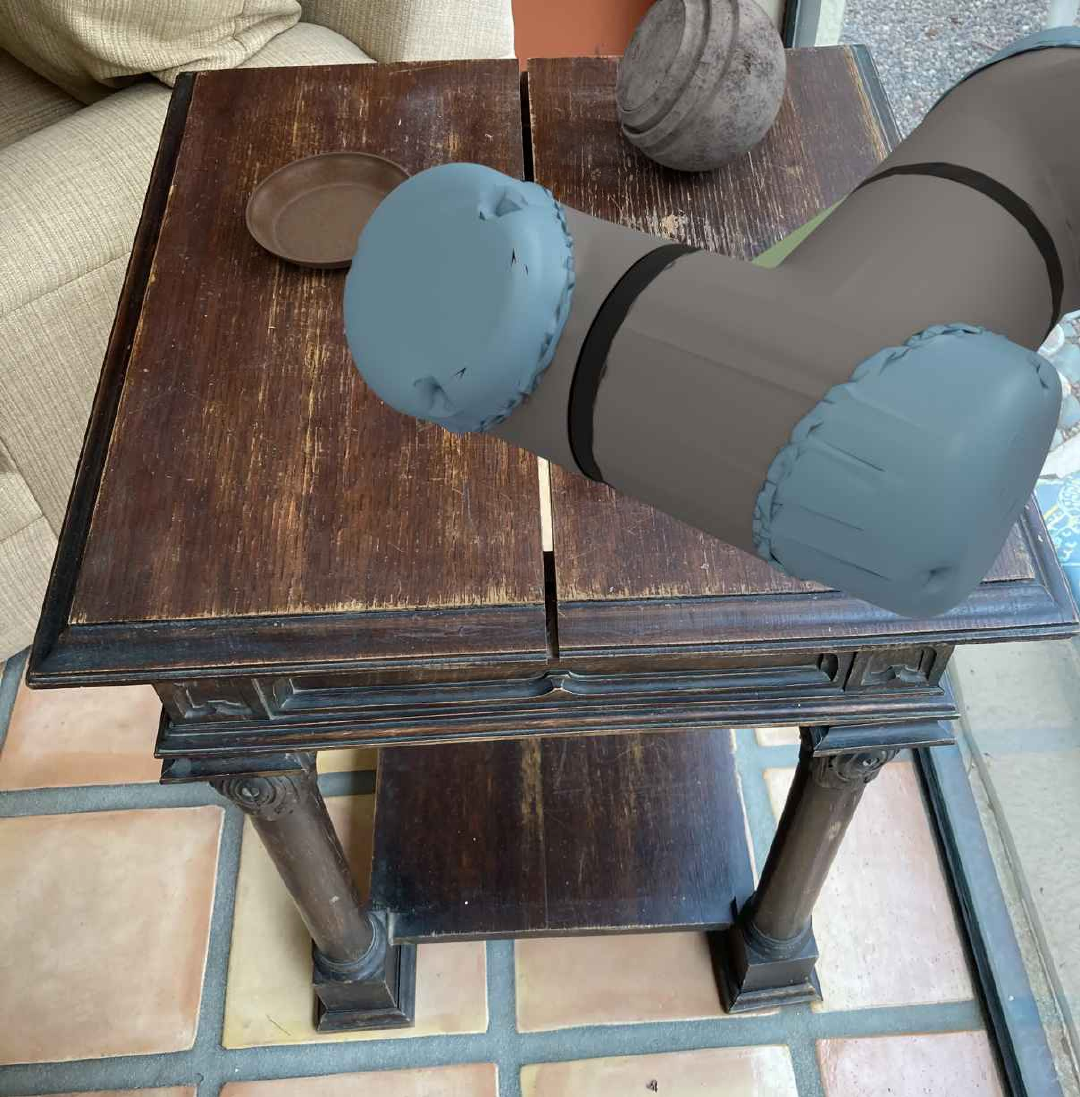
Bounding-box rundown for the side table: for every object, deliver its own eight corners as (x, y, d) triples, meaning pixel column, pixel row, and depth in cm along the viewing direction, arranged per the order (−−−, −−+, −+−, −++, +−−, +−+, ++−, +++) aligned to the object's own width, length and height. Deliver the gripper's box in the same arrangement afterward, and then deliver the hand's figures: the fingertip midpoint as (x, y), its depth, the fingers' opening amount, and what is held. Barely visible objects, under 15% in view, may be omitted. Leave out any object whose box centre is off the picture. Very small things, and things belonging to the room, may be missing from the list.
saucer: (295, 309, 85) (288, 283, 83) (226, 213, 93) (218, 187, 91) (453, 245, 90) (450, 219, 88) (376, 158, 97) (371, 132, 95)
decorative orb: (601, 116, 100) (607, -47, 88) (749, 104, 101) (776, -59, 89) (627, 212, 92) (637, 47, 80) (788, 198, 93) (823, 32, 81)
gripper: (508, 367, 46) (720, 429, 66) (729, 543, 40) (888, 553, 60) (598, 214, 44) (790, 326, 64) (846, 377, 38) (972, 444, 58)
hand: (838, 436), depth 62 cm, fingers closed
